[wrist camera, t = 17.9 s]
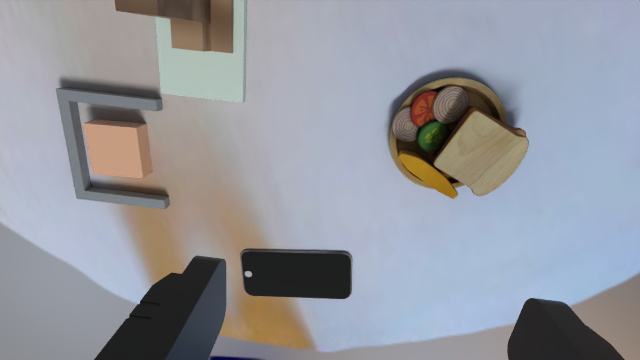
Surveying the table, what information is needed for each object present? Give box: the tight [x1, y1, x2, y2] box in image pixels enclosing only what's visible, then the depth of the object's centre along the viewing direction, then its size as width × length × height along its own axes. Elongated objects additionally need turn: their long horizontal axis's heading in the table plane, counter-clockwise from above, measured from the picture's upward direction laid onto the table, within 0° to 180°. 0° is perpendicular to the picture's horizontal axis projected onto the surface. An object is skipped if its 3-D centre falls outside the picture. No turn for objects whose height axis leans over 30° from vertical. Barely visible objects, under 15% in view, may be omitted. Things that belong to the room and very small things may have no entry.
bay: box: [56, 88, 169, 209], centre depth 40 cm, size 13×11×1 cm
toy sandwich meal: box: [389, 77, 529, 199], centre depth 36 cm, size 12×14×5 cm
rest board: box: [155, 0, 247, 103], centre depth 34 cm, size 13×9×1 cm
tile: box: [83, 119, 153, 178], centre depth 39 cm, size 6×6×2 cm
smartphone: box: [240, 249, 352, 299], centre depth 46 cm, size 8×1×15 cm
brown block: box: [115, 0, 234, 53], centre depth 28 cm, size 8×5×11 cm, turn 174°
